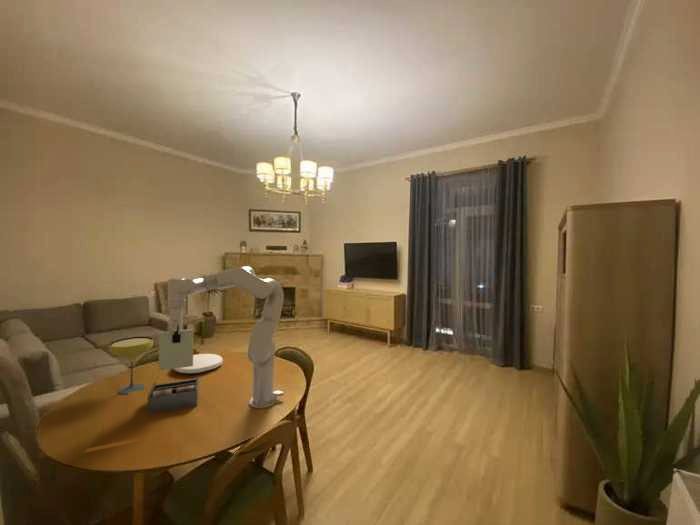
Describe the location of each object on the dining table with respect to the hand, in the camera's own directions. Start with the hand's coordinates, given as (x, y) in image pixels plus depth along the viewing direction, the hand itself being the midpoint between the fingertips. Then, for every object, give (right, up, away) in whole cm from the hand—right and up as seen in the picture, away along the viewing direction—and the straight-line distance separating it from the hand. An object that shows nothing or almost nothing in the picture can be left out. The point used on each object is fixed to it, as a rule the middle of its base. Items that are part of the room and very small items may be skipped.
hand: (176, 341), depth 138 cm
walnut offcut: (+7, -28, -5) cm, 29 cm away
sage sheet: (0, -13, 0) cm, 13 cm away
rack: (+1, -29, -3) cm, 29 cm away
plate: (-11, -28, +41) cm, 50 cm away
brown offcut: (-1, -28, -8) cm, 29 cm away
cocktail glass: (-30, -28, +11) cm, 42 cm away
